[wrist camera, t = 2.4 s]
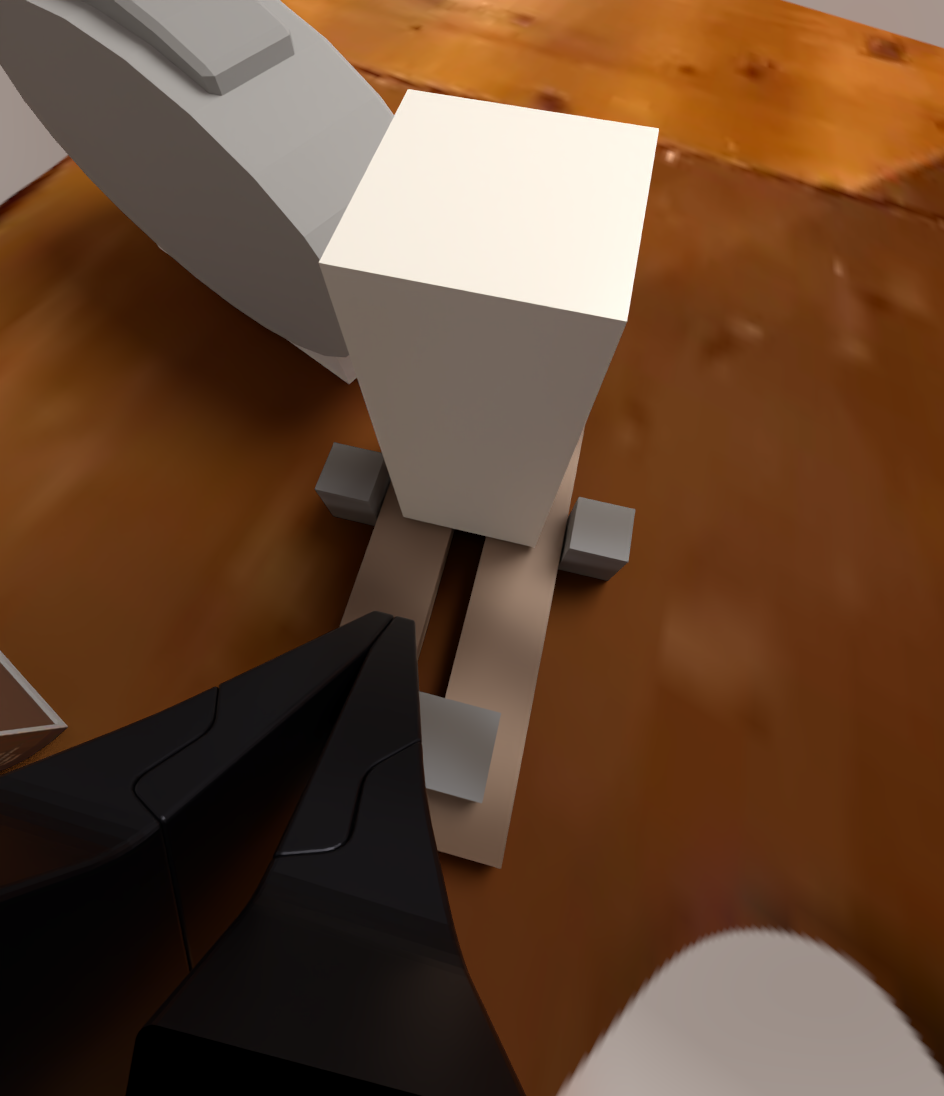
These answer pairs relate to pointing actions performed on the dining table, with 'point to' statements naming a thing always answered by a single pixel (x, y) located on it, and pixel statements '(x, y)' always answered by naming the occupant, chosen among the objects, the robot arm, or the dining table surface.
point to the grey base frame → (472, 633)
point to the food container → (23, 717)
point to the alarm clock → (210, 138)
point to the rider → (487, 298)
